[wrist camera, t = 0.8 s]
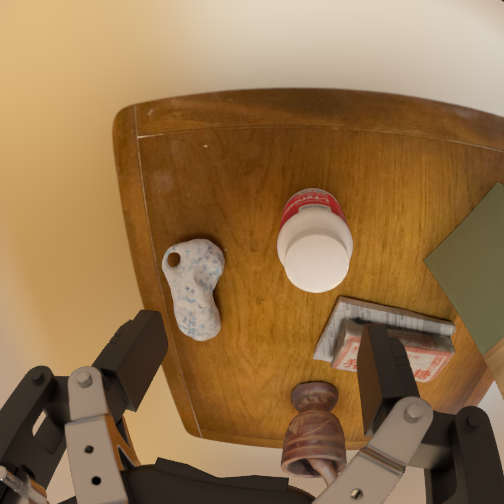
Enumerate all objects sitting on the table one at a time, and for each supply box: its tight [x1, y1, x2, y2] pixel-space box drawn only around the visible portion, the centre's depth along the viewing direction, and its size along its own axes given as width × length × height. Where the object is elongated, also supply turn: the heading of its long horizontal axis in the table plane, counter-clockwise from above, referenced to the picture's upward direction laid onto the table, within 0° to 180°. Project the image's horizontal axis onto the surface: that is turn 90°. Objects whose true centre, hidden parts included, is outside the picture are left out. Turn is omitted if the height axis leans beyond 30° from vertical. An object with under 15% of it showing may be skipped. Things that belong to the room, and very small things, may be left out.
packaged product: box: [313, 296, 455, 382], centre depth 34 cm, size 18×5×10 cm
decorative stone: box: [162, 239, 225, 341], centre depth 34 cm, size 13×7×5 cm, turn 7°
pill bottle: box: [277, 188, 353, 293], centre depth 26 cm, size 6×6×11 cm
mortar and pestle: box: [281, 382, 347, 486], centre depth 34 cm, size 12×9×20 cm
